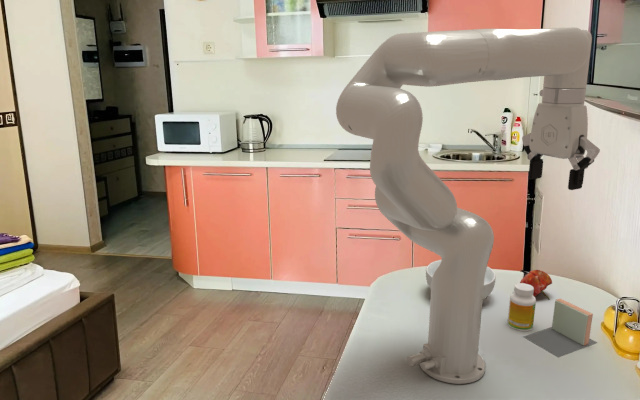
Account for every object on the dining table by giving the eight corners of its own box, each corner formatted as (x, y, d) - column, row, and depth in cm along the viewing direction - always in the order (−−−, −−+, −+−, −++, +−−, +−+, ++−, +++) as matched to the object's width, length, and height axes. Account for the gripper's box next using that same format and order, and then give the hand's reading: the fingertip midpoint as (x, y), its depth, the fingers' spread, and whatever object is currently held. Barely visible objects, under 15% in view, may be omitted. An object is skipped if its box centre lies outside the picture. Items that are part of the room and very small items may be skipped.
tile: (583, 345, 110) (587, 315, 108) (551, 328, 117) (554, 299, 115) (588, 344, 111) (592, 313, 109) (556, 327, 118) (560, 298, 116)
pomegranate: (549, 302, 135) (522, 271, 139) (568, 288, 130) (539, 256, 134) (533, 314, 131) (506, 281, 135) (552, 299, 126) (523, 266, 130)
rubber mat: (557, 359, 106) (558, 357, 106) (522, 338, 114) (522, 336, 114) (597, 344, 112) (597, 342, 111) (561, 325, 119) (561, 323, 119)
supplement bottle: (534, 333, 116) (539, 293, 113) (509, 331, 117) (513, 290, 114) (530, 321, 121) (535, 282, 118) (505, 319, 122) (509, 280, 119)
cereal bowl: (411, 289, 138) (413, 263, 136) (464, 278, 144) (465, 254, 142) (452, 318, 123) (454, 290, 121) (508, 305, 129) (511, 278, 127)
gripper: (514, 95, 108) (507, 177, 112) (589, 102, 93) (578, 196, 97) (541, 93, 111) (533, 172, 116) (618, 99, 96) (605, 190, 101)
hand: (554, 183), depth 106 cm, fingers open, 9 cm apart
